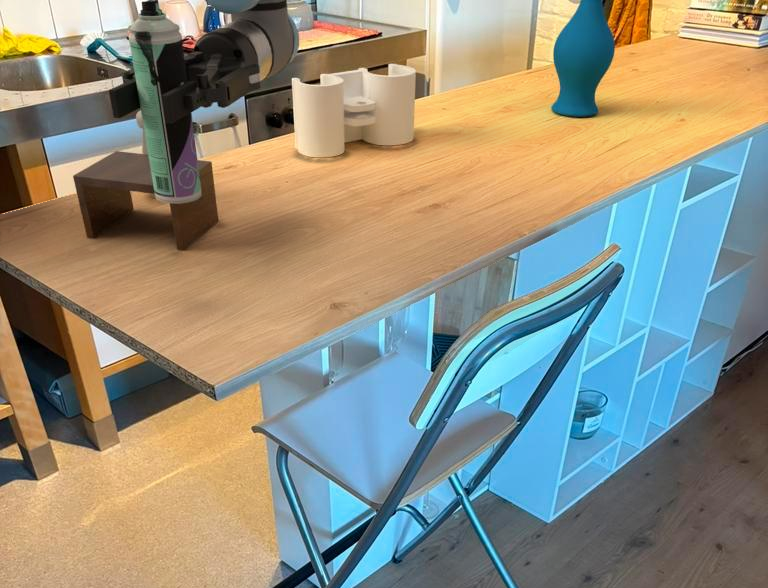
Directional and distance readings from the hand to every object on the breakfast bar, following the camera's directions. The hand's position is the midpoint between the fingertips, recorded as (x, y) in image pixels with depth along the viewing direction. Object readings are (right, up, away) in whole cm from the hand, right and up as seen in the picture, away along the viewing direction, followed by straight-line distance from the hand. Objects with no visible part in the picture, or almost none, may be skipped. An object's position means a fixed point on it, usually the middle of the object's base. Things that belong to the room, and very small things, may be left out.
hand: (140, 106), depth 86 cm
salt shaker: (-11, +10, +50) cm, 52 cm away
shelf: (-9, 0, +38) cm, 40 cm away
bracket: (+21, +29, +72) cm, 81 cm away
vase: (+68, +45, +92) cm, 123 cm away
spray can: (+1, -5, +11) cm, 12 cm away
